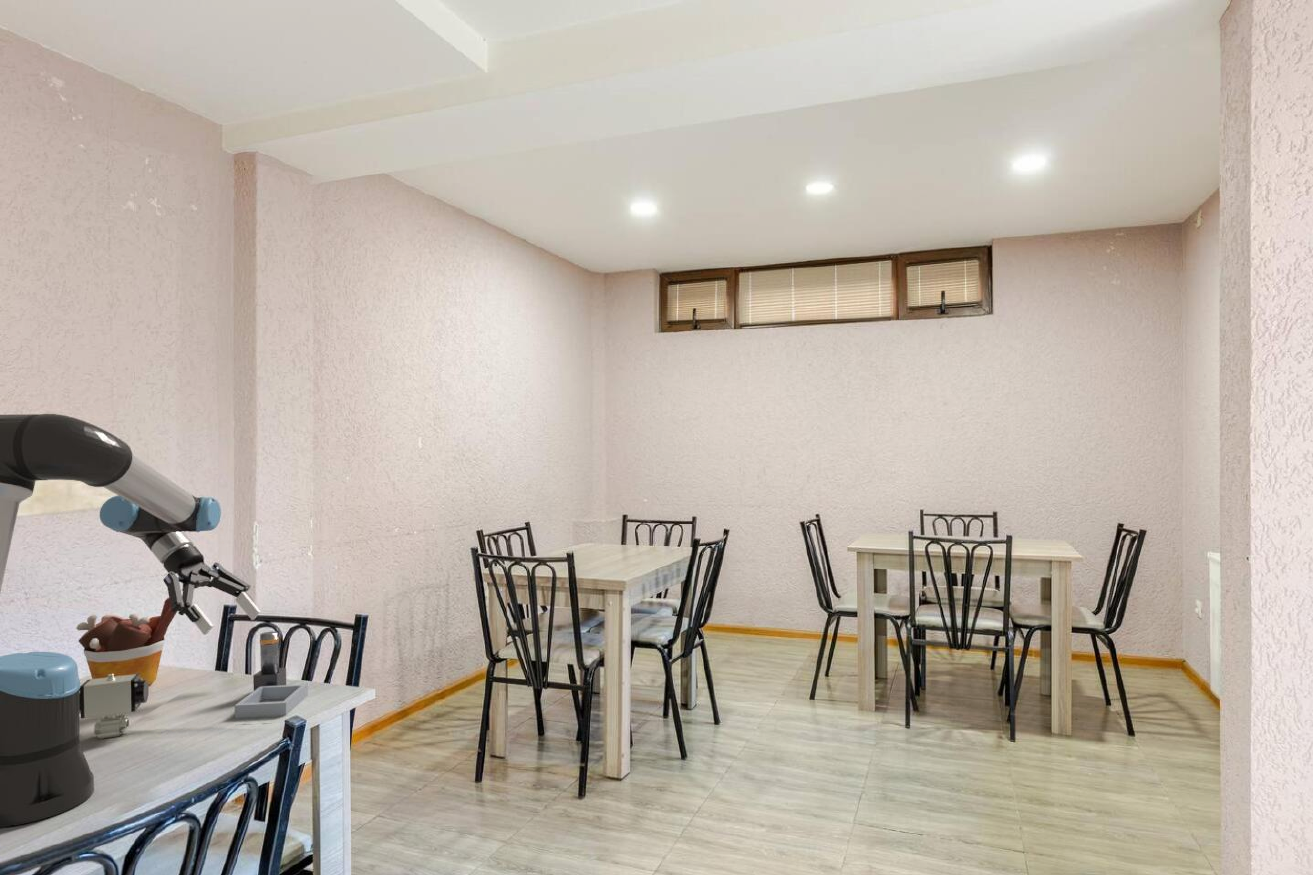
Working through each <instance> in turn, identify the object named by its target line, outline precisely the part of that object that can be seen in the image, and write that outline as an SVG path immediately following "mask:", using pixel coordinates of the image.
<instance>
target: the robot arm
mask: <svg viewBox="0 0 1313 875" xmlns="http://www.w3.org/2000/svg"><path fill="white" fill-rule="evenodd" d="M56 480H57V481H60V480H61V481H77V482H81V483H84V484H86V485H87V486H89V487H95V488H105V489H106V490H108V491H110V492H111V493H113V494H115V496H111V497H110V498H108V499H107V500H106V501H104V502H103V504H102V506H101V507H100V510H99V519H100V522H101V523H102V525H103V526H104V527H106V528H108V529H110V530H113V531H115V532H117V533H121V534H125V535H128V536H131V537H136V538H138V539H140V540H141V541H142V542H143V543H144V544H145V545H146V546H147V548H148V549H149V550H150V552H152V553H153V555H154V556H155V558H156V559H157V560H158V561H159V562H160V563H161V565H163V568H164V570H166V572H167V573H168V574H166V575H165V577H164V578H163V582H164V584H165V586H166V587H167V594H168V598H169V599H170V605H171V610H172V612H174V613H176V612H177V613H178V615H179V616H184V615H185V616H186V617H187V618H188V619H189V621H190V622H191V623H194V624H195V625H196V627H197V628H198V629H199V630H200V632H201V633H202V634H203V635H207V634H209V632H210V631H211V630H212V629H213V627H215V626H214V625H215V624H213V623H212V621H211V620H210V619H209V618H208V616H207V615H206V614H205V612H203V610H202V609H201V608H200V607H199V605H198V604H197V603H195V604H193V600H194V590H195V589H199V588H204V587H208V588H215V589H217V590H219V591H221V592H224V593H226V594H229V595H230V596H232V597H235V601H236V603H237V604H238V605H239V606H240V608H241V609H242V610H243V611H244V612H245V614H246V615H247V616H248V617H249V618H250V620H251V621H254V620H256V618H257V617H258V616H259V614H260V613H261V612H262V611H261V610H260V609H259V607H258V606H257V605H256V604H255V603H254V599H252V597H251V596H250V595H249V594H248V591H249V590H250V589H251V584H249V583H248V582H246V581H244V580H242V579H241V578H240V577H238V576H236V575H235V574H234V573H232V572H230V571H229V570H227V569H226V568H224V567H223V566H222V564H220V562H217V561H215V562H214V563H213V565H211V566H209V565H207V564H206V563H205V558H204V554H202V553H201V551H200V550H199V549H198V548H197V547H196V546H195V545H194V542H192V540H191V539H190V538H189V536H188V535H187V534H186V533H190V532H191V533H193V532H195V533H200V532H206V531H207V532H208V531H213V530H215V529H216V528H217V527H218V526H219V523H220V521H221V516H222V515H221V514H222V509H221V505H220V503H219V501H218V500H217V498H214V497H205V496H202V497H196V496H195V495H193V494H191V493H190V492H189V491H187V490H186V489H184V488H182V487H181V486H179V485H178V484H176V483H175V482H173V481H172V480H171V479H169V478H168V477H166V476H164V475H163V474H162V473H161V472H159V471H157V470H156V469H154V467H152V466H150V465H149V464H147V463H146V462H144V461H142V459H140V458H138V457H137V456H135V455H134V453H133V450H132V448H131V447H130V446H129V444H127V443H126V442H125V441H123V440H122V439H121V438H118V437H117V436H116V435H114V434H113V433H111V432H109V431H106V430H105V429H103V428H101V427H99V426H97V425H94V424H92V423H89V422H88V421H85V420H81V419H80V418H79V419H78V418H76V417H72V416H69V415H64V414H57V413H41V414H40V413H39V414H38V413H36V414H35V413H34V414H31V413H29V414H21V413H20V414H0V593H1V591H2V588H3V587H2V586H3V582H4V577H5V572H6V567H7V562H8V558H9V554H10V550H11V545H12V539H13V536H14V531H15V525H16V522H17V521H16V520H17V516H18V511H19V507H20V504H21V503H22V502H24V501H25V500H27V499H28V498H31V497H33V495H34V494H33V493H34V490H35V485H36V482H37V481H56ZM180 583H181V584H182V589H181V585H180ZM177 613H176V614H177ZM78 669H79V668H78V664H77V662H76V661H75V660H74V659H73V658H72V657H71V656H69V655H68V654H64V653H60V652H55V651H54V652H52V651H29V652H17V653H10V654H6V655H5V654H4V655H2V656H0V828H4V827H12V826H11V825H14V826H19V825H24V823H25V824H28V823H32V822H37V821H41V820H43V819H44V820H45V819H48V818H49V817H53V816H56V815H59V814H61V813H64V812H66V811H69V810H72V809H73V808H76V807H77V806H79V805H80V804H82V803H84V802H85V801H86V800H88V799H89V798H90V797H91V796H92V795H93V794H94V792H95V777H94V774H93V772H92V771H91V768H90V766H89V763H88V761H87V759H86V756H85V754H84V751H83V750H82V748H81V734H80V730H81V729H80V728H81V726H80V720H81V714H79V688H80V686H81V680H80V677H79V670H78Z"/></svg>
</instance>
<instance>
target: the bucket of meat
mask: <svg viewBox="0 0 1313 875" xmlns="http://www.w3.org/2000/svg"><path fill="white" fill-rule="evenodd" d="M177 613H178V611H177V612H176V613H174V612H172V610H171V605H170V599H169V597H167V598H166V599H165V600H164V603H163V607H162V609H161V613H160V615H159V616H152V617H150V618H148V616H143V617H141V618H140V617H139V615H138V614H136V613H132V614H131V613H130V615H128V616H129V617H128V618H125V617H122V616H118V615H113V614H109V615H107V614H106V615H104V616H102V617H101V620H100V622H98V623H97V619H98V615H97V614H92V615H90V616H88V618H86V620H87V621H86V622H85V621H83V622H80V623H79V624H78V625H77V626H76V630H77V631H86V632H85V633H84V634H83V635H82V636H81V637H80V638H79V639H78V643H79V644H80V645H81V646H82V648H83V650H82V651H83V654H84V656H85V660H86V662H87V666H88V669H89V674H90V675H91V679H99V678H107V677H108V674H114V677H116V676H125V675H133V674H140V678H142V680H147V681H148V686H151V685H152V684H153V683H154V682H155V681H156V680H157V675H158V671H159V667H160V662H161V658H162V653H163V648H164V645H165V640H166V639H165V636H166V633H167V632H168V628H169V626H170V625H171V622H172V621H173V620H174V617H175V616H176V614H177Z"/></svg>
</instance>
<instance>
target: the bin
mask: <svg viewBox="0 0 1313 875" xmlns="http://www.w3.org/2000/svg"><path fill="white" fill-rule="evenodd" d="M308 696H309V686H308V684H307V683H306V684H304V683H303V684H302V683H301V684H286V685H280V686H260V687H259V688H257V689H256V690H255V691H254V690H253V691H252V692H251V693H250V694H248V695H247V696H245V697H244V698H242V699H241V700H240V701H239V702H237V703H236V704H234V719H243V718H244V719H245V718H247V719H248V718H261V717H262V718H263V717H264V718H265V717H281V716H282V717H283V716H287V715H289V714H290V712H292V711H293V710H294V709H295V708H296V707H297V706H298V705H300V703H301V702H303V701H304V700H305V699H306V698H307V697H308ZM278 699H279V700H281V699H284V700H283V701H271V702H270V701H267V702H265V701H264V702H262V701H263V700H278ZM267 724H271V722H269V723H263V725H267ZM244 725H245V726H246V725H247V726H248V725H249V726H250V725H251V723H249V724H247V723H246V724H244Z"/></svg>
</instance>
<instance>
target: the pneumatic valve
mask: <svg viewBox="0 0 1313 875" xmlns="http://www.w3.org/2000/svg"><path fill="white" fill-rule="evenodd" d="M149 686H150V685H149ZM149 686H148V681H147V680H142V678H140V674H133V675H125V676H116V677H114V674H108V677H107V678H99V679H92V678H91V679H86V680H85V681H84V682H83V683H82V684H80V688H79V715H80V720H81V719H88V718H89V719H90V718H97V717H100V721H96V722H95V724H94V727H93V728H94V729H93V733H94V735H95V736H97V739H100V740H101V739H103V740H104V739H108V738H116V737H120V736H122V735H123V732H124V730H125V729H126V728H128V727H129V726H130V719H129V717H126V715H125V714H127V713H134V712H136V711H137V710H138V709H139V707H140V706H141V704H145V703H147V701H148V700H149V699H148V698H149V692H150V690H149Z"/></svg>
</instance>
